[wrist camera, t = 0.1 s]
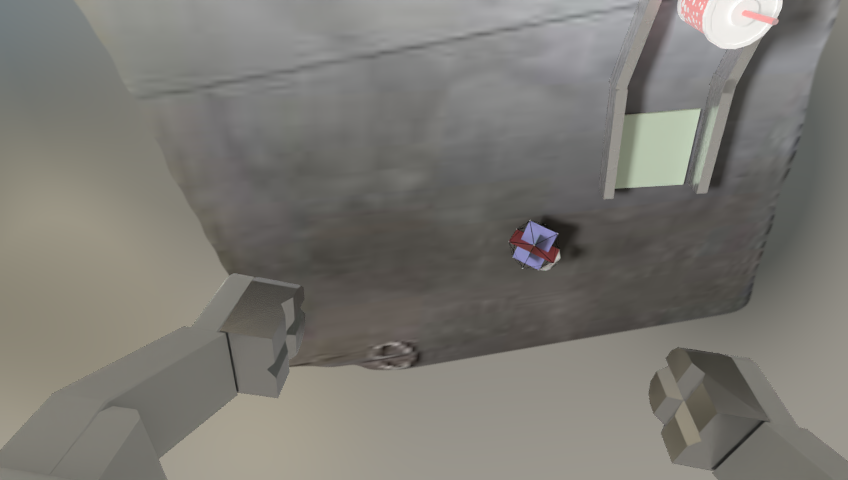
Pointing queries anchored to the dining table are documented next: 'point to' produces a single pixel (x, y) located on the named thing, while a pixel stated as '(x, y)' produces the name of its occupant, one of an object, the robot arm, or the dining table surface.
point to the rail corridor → (713, 113)
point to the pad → (656, 148)
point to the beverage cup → (730, 19)
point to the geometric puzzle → (535, 246)
